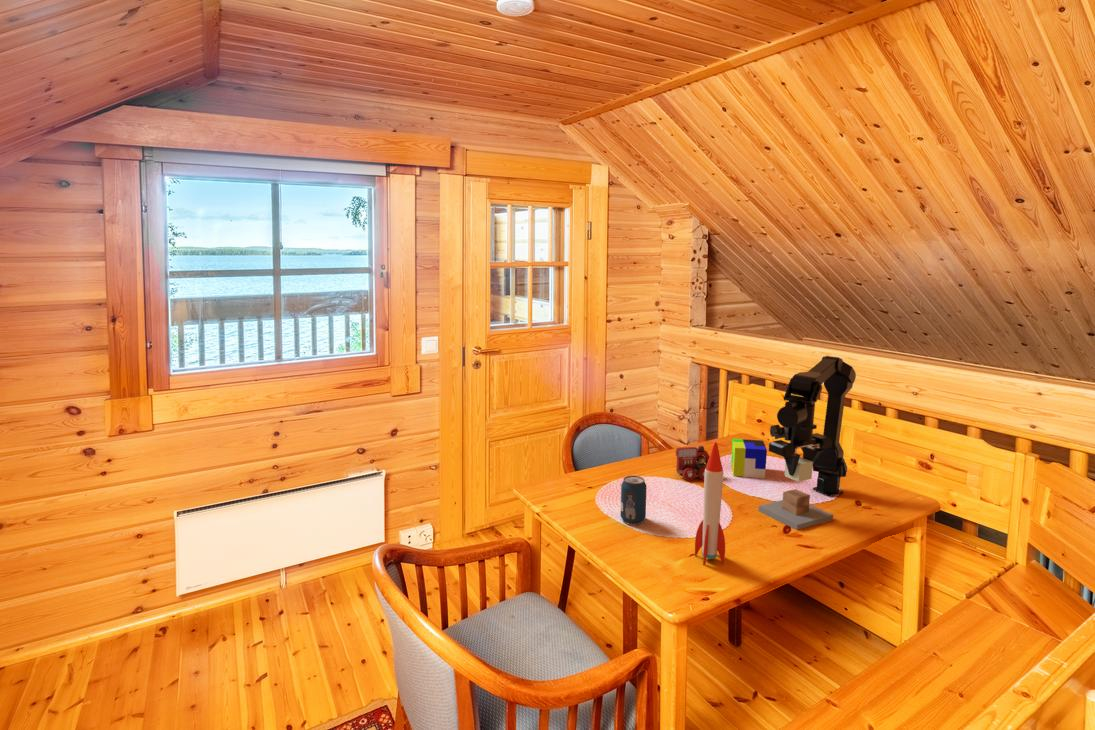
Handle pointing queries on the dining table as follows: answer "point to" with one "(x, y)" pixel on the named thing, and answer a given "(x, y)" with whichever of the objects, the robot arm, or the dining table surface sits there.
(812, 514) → the base board
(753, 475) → the puzzle toy
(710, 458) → the toy rocket
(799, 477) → the sage cube
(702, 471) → the toy fire truck
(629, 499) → the soda can
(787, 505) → the walnut cube
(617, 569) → the dining table surface
